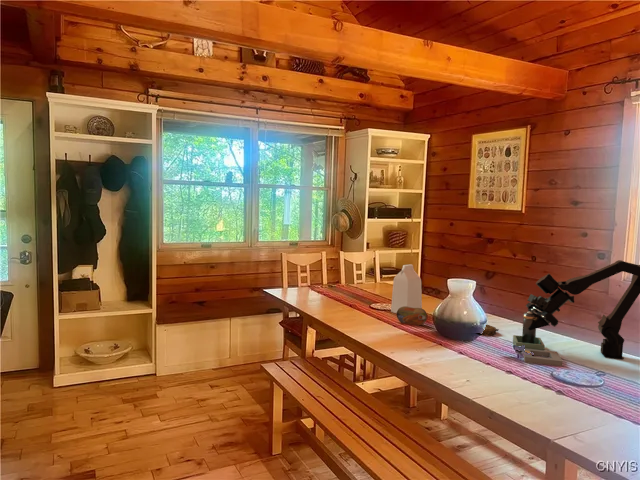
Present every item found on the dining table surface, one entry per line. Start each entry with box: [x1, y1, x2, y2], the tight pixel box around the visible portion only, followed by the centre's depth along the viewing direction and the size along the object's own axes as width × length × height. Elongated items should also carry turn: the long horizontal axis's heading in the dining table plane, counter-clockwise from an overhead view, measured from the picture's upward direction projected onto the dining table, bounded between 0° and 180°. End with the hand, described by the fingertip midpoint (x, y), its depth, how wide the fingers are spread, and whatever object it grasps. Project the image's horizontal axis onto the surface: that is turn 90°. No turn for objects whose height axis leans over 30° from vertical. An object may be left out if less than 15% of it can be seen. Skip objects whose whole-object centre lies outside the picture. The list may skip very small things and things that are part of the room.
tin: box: [396, 306, 428, 326], centre depth 221 cm, size 15×3×8 cm, turn 62°
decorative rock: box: [482, 324, 500, 337], centre depth 211 cm, size 11×4×15 cm
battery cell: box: [521, 311, 537, 344], centre depth 186 cm, size 5×5×13 cm
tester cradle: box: [523, 348, 564, 367], centre depth 174 cm, size 13×11×2 cm
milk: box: [390, 264, 423, 314], centre depth 242 cm, size 12×12×26 cm
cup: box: [512, 334, 545, 350], centre depth 187 cm, size 11×11×4 cm
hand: (526, 327), depth 186 cm, fingers closed on battery cell, 5 cm apart
